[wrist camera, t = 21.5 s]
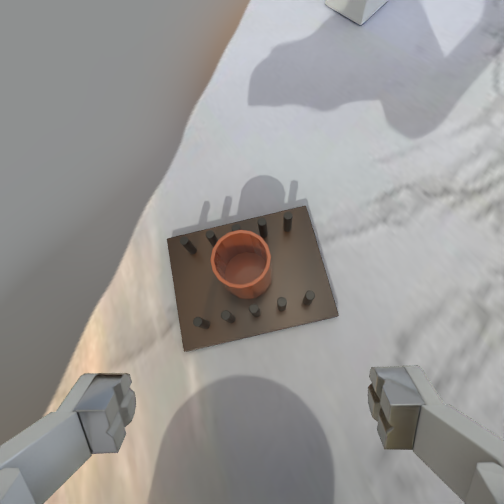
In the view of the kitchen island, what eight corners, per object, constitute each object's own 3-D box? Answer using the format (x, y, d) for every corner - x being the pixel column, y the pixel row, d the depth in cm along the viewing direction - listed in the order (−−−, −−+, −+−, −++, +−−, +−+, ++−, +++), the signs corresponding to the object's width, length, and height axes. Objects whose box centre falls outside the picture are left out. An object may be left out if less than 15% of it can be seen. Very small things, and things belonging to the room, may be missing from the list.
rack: (305, 209, 42) (308, 190, 38) (337, 316, 38) (345, 311, 33) (169, 241, 43) (155, 227, 38) (186, 351, 39) (172, 351, 34)
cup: (265, 245, 40) (262, 223, 33) (277, 292, 38) (277, 279, 32) (218, 257, 40) (205, 238, 33) (228, 304, 39) (217, 294, 32)
